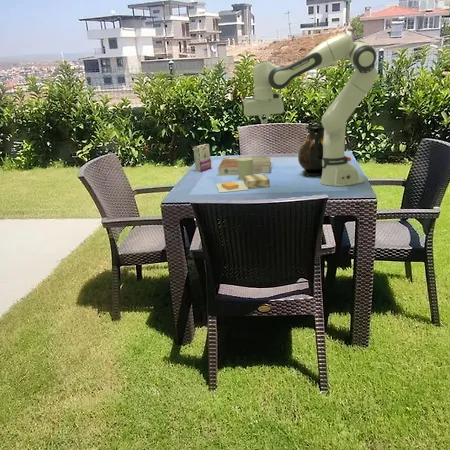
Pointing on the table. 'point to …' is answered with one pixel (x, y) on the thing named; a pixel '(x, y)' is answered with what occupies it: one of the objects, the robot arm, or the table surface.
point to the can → (245, 167)
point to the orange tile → (230, 185)
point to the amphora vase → (312, 151)
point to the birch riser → (256, 181)
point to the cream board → (241, 188)
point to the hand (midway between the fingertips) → (264, 123)
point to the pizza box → (231, 165)
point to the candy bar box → (202, 157)
